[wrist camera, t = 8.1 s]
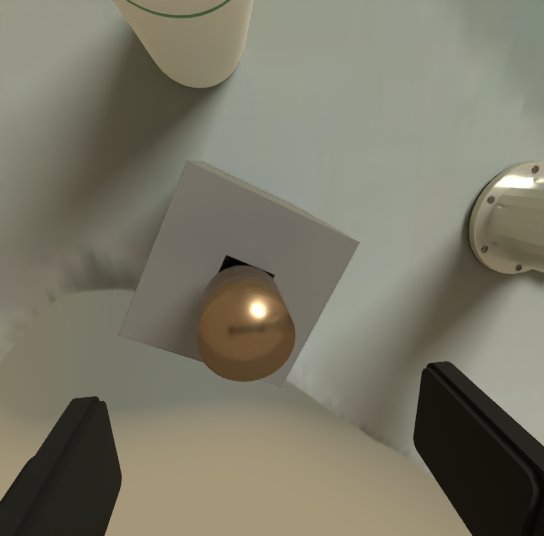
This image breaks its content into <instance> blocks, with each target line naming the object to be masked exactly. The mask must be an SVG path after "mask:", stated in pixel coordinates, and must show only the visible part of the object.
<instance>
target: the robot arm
mask: <svg viewBox="0 0 544 536" xmlns="http://www.w3.org/2000/svg"><path fill="white" fill-rule="evenodd" d="M469 240H470V244H471V248H472V250H473V252H474V254H475V256H476V258H477V259H478V260H479V261H480V262H481V263H482V264H483V265H485V266H486V267H488V268H490V269H492V270H495V271H497V272H501V273H505V274H517V273H523V272H526V271H529V270H531V269H534V270H537V271H540V272H543V273H544V162H526V163H521V164H518V165H515V166H512V167H510V168H508V169H507V170H505V171H503V172H501V173H500V174H499V175H498V176H497V177H495V178H494V179H493V180H492V181H491V182H490V183H489V184H488V185H487V186H486V188H485V189H484V190H483V192H482V193H481V195H480V196H479V198H478V200H477V202H476V204H475V206H474V208H473V211H472V215H471V218H470V224H469ZM413 440H414V445H415V447H416V450H417V451H418V453H419V454H420V456H421V458H422V459H423V461H424V462H425V464H426V465H427V467H428V468H429V470H430V471H431V473H432V474H433V476H434V477H435V479H436V481H437V482H438V484H439V485H440V487H441V488H442V490H443V491H444V493H445V494H446V496H447V497H448V499H449V500H450V502H451V504H452V505H453V507H454V508H455V509H456V511H457V513H458V514H459V516H460V517H461V519H462V520H463V522H464V523H465V525H466V527H467V528H468V530H469V531H470V533H471V534H472V536H544V446H543V445H542V444H541V443H539V442H538V441H537V440H536V439H535V438H534V437H533V436H532V435H531V434H529V433H528V432H527V431H526V430H525V429H524V428H523V427H522V426H521V425H519V424H518V423H517V422H516V421H515V420H514V419H513V418H512V417H511V416H509V415H508V414H507V413H506V412H505V411H504V410H503V409H502V408H501V407H499V406H498V405H497V404H496V403H495V402H494V401H493V400H492V399H491V398H490V397H488V396H487V395H486V394H485V393H484V392H483V391H482V390H481V389H480V388H478V387H477V386H476V385H475V384H474V383H473V382H472V381H471V380H470V379H468V378H467V377H466V376H465V375H464V374H463V373H462V372H461V371H460V370H458V369H457V368H456V367H455V366H454V365H453V364H452V363H450V362H447V361H445V362H435V363H429V364H428V365H427V367H426V368H425V369H423V371H422V376H421V384H420V391H419V399H418V406H417V414H416V421H415V428H414V436H413ZM121 480H122V475H121V470H120V465H119V461H118V456H117V451H116V447H115V442H114V438H113V434H112V429H111V424H110V420H109V415H108V410H107V406H106V403H105V402H104V401H99V398H98V397H95V396H94V397H85V398H75V399H73V400H72V401H71V402H70V404H69V405H68V406H67V408H66V410H65V411H64V412H63V414H62V416H61V417H60V418H59V420H58V422H57V423H56V425H55V426H54V428H53V429H52V431H51V432H50V434H49V435H48V437H47V438H46V440H45V441H44V443H43V444H42V446H41V447H40V449H39V450H38V452H37V453H36V455H35V456H34V457H32V458H31V459H30V460H29V461H28V462H27V463H26V464H25V466H24V467H23V469H22V470H21V472H20V473H19V475H18V476H17V478H16V479H15V481H14V482H13V484H12V485H11V487H10V488H9V490H8V491H7V493H6V494H5V496H4V497H3V498H2V500H1V501H0V536H104V535H105V532H106V530H107V527H108V524H109V520H110V517H111V515H112V511H113V509H114V506H115V502H116V499H117V496H118V494H119V491H120V487H121Z"/></svg>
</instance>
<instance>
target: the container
mask: <svg viewBox="0 0 544 536" xmlns="http://www.w3.org/2000/svg"><path fill="white" fill-rule="evenodd" d="M113 1H114V2H115V4H116V5H117V7H118V8H119V10H120V11H121V13H122V14H123V16H124V17H125V19H126V20H127V22H128V23H129V24H130V26H131V27H132V29H133V30H134V32H135V33H136V35H137V36H138V38H139V39H140V41H141V42H142V44H143V45H144V47H145V48H146V50H147V51H148V53H149V54H150V56H151V57H152V59H153V60H154V62H155V63H156V64H157V66H158V67H159V68H160V69H161V70H162V71H163V72H164V73H165V74H166V75H167V76H168V77H170V78H171V79H172V80H174V81H176V82H178V83H180V84H182V85H184V86H188V87H192V88H208V87H212V86H215V85H217V84H220V83H221V82H223V81H224V80H226V79H227V78H228V77H229V76H230V75H231V74H232V73H233V72H234V71H235V69H236V68H237V66H238V65H239V62H240V60H241V58H242V55H243V52H244V48H245V42H246V37H247V32H248V26H249V21H250V16H251V10H252V5H253V0H113Z"/></svg>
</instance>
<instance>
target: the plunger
mask: <svg viewBox="0 0 544 536" xmlns="http://www.w3.org/2000/svg"><path fill="white" fill-rule="evenodd" d="M295 334H296V333H295V327H294V323H293V321H292V318H291V316H290V314H289V311H288V309H287V307H286V305H285V302H284V300H283V298H282V296H281V293H280V291H279V289H278V287H277V285H276V283H275V281H274V280H273V279H272V278H271V276H269V275H268V274H267V273H266V272H264V271H263V270H262V269H260V268H257V267H255V266H252V265H250V264H247V263H245V262H242V261H240V260H238V259H235V258H233V257H230V256H228V255H226V256H225V258H224V261H223V263H222V265H221V267H220V270H219V272H218V274H217V275H216V276H214V277H213V279H212V280H211V281H210V282H209V284H208V285H207V287H206V289H205V292H204V296H203V302H202V308H201V315H200V322H199V329H198V337H197V344H198V350H199V353H200V356H201V358H202V360H203V361H204V363H205V364H206V365H207V366H208V368H210V369H211V370H212V371H213V372H214V373H216V374H217V375H219V376H221V377H223V378H226V379H229V380H233V381H240V382H244V381H245V382H247V381H254V380H259V379H262V378H265V377H267V376H269V375H271V374H272V373H274V372H276V371H277V370H278V369H280V368H281V367H282V366H283V365H284V364H285V362H286V361H287V360H288V358H289V357H290V355H291V353H292V351H293V348H294V344H295Z"/></svg>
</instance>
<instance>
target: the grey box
mask: <svg viewBox="0 0 544 536" xmlns="http://www.w3.org/2000/svg"><path fill="white" fill-rule="evenodd" d="M359 243H360V242H358V241H356V240H355V239H353V238H351V237H349V236H348V235H346V234H344V233H343V232H341V231H339V230H337V229H336V228H334V227H332V226H330V225H329V224H327V223H325V222H324V221H322V220H320V219H318V218H317V217H315V216H313V215H312V214H310V213H308V212H306V211H305V210H303V209H301V208H299V207H297V206H294V205H292V204H290V203H288V202H286V201H284V200H282V199H280V198H278V197H276V196H274V195H271V194H269V193H267V192H265V191H263V190H261V189H259V188H257V187H255V186H253V185H251V184H248V183H246V182H244V181H242V180H240V179H238V178H236V177H234V176H232V175H230V174H228V173H226V172H223V171H221V170H219V169H217V168H215V167H213V166H211V165H209V164H207V163H205V162H201V161H186V163H185V166H184V168H183V171H182V173H181V176H180V179H179V181H178V184H177V186H176V189H175V191H174V194H173V196H172V199H171V202H170V204H169V207H168V209H167V212H166V214H165V217H164V220H163V222H162V225H161V227H160V230H159V232H158V235H157V238H156V240H155V243H154V245H153V248H152V250H151V253H150V255H149V258H148V261H147V263H146V266H145V268H144V271H143V273H142V276H141V279H140V281H139V284H138V286H137V289H136V291H135V294H134V297H133V299H132V302H131V304H130V307H129V309H128V312H127V315H126V317H125V320H124V322H123V325H122V328H121V330H120V332H119V336H122V337H125V338H128V339H132V340H135V341H138V342H141V343H144V344H148V345H151V346H154V347H157V348H160V349H163V350H166V351H170V352H173V353H176V354H179V355H182V356H185V357H189V358H192V359H195V360H198V361H201V362H204V361H203V360H202V358H201V356H200V353H199V350H198V344H197V337H198V329H199V322H200V315H201V308H202V302H203V296H204V292H205V289H206V287H207V285H208V284H209V282H210V281H211V280H212V279H213V277H214V276H216V275H217V274H218V272H219V270H220V267H221V265H222V263H223V261H224V258H225V256H226V255H228V256H230V257H233V258H235V259H238V260H240V261H242V262H245V263H247V264H250V265H252V266H255V267H257V268H260V269H262V270H263V271H264V272H266V273H267V274H268V275H269V276H271V278H272V279H273V280H274V281H275V283H276V285H277V287H278V289H279V291H280V293H281V296H282V298H283V300H284V302H285V305H286V307H287V309H288V311H289V314H290V316H291V318H292V321H293V323H294V327H295V333H296V334H295V344H294V348H293V351H292V353H291V355H290V357H289V358H288V360H287V361H286V362H285V364H284V365H283V366H282V367H281V368H280V369H278V370H277V371H276V372H274V373H272V374H271V375H269V376H267V377H265V378H262V379H259V380H261V381H265V382H268V383H271V384H274V385H277V386H280V387H282V385H283V383H284V382H285V380H286V378H287V376H288V374H289V372H290V370H291V369H292V367H293V365H294V363H295V361H296V359H297V358H298V356H299V354H300V352H301V350H302V348H303V346H304V345H305V343H306V341H307V339H308V337H309V335H310V334H311V332H312V330H313V328H314V326H315V324H316V322H317V321H318V319H319V317H320V315H321V313H322V311H323V309H324V308H325V306H326V304H327V302H328V300H329V298H330V297H331V295H332V293H333V291H334V289H335V287H336V285H337V284H338V282H339V280H340V278H341V276H342V274H343V273H344V271H345V269H346V267H347V265H348V263H349V261H350V260H351V258H352V256H353V254H354V252H355V250H356V249H357V247H358V245H359Z"/></svg>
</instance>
